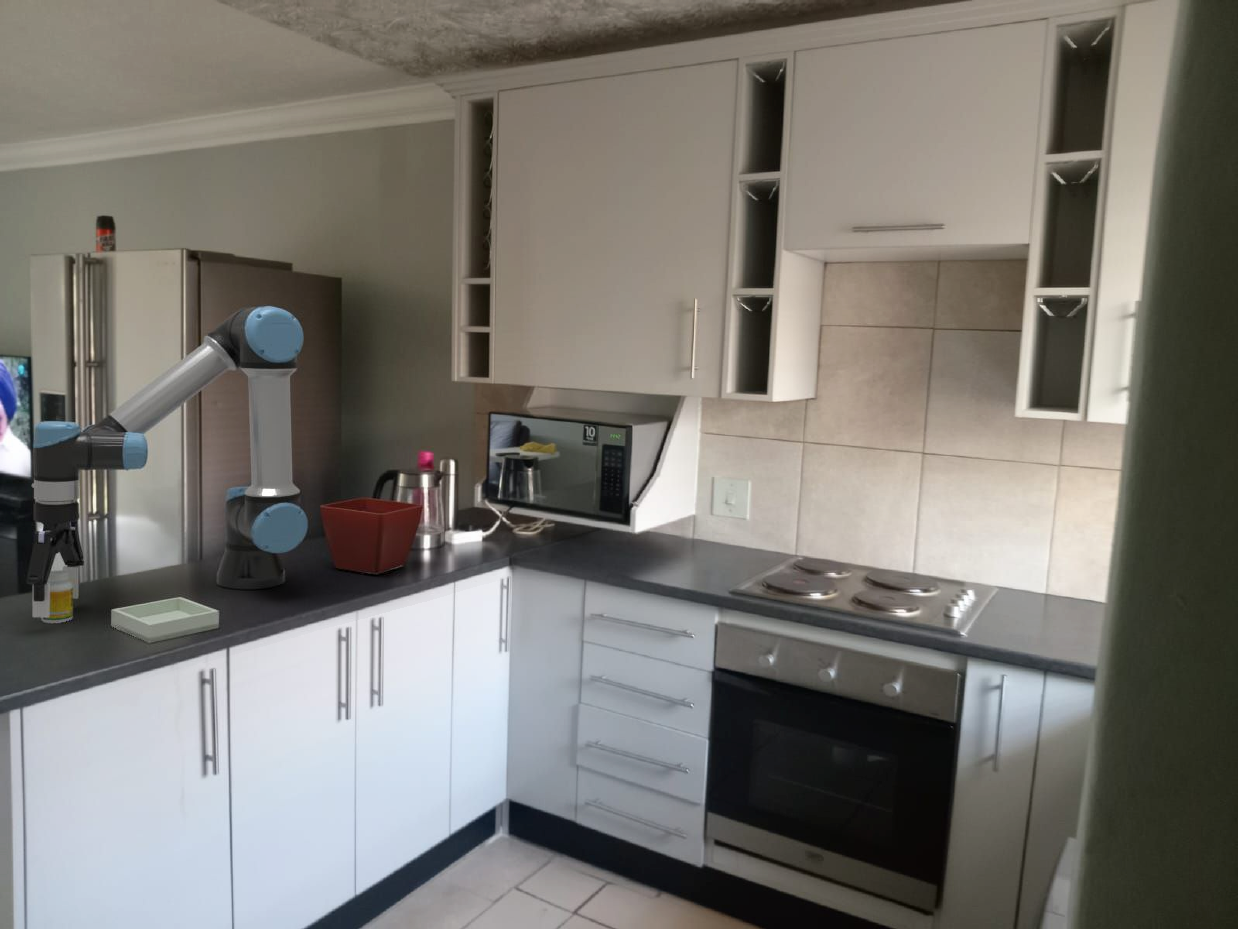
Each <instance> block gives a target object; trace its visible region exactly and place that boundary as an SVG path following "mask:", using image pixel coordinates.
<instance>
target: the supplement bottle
mask: <svg viewBox="0 0 1238 929" xmlns="http://www.w3.org/2000/svg"><path fill="white" fill-rule="evenodd" d="M68 579H69V572H68V571H63V570H51V572H50V575H49V578H48V581H47V583H50V617H48V618H47V617H40V620H41V622H43V623H46V624H54V623H55V624H63V623H67V622H70V621H71V620H72V619H73V618H74V600H73V585H72V583H71V582H69V581H67V580H68ZM69 620H70V621H69ZM66 621H67V622H66ZM62 622H63V623H62Z"/></svg>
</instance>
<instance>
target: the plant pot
mask: <svg viewBox="0 0 1238 929" xmlns="http://www.w3.org/2000/svg"><path fill="white" fill-rule="evenodd" d="M319 506H320V508H319V509H320V514H321V521H322V522H321V523H322V526H323V527H322V528H323V530H324V536H325V540H326V542H327V546H328V550H329V553H330V556H331V559H332V561H333V564H334V566H335V569H336V568H340V569H345V570H346V569H347V570H355V571H361V572H371V573H379V572H384V571H386V570H389V569H391V568H395V567H398V566H400V565H404V566H405V564H406V562H407V559H409V558H408V557H409V555H410V552H411V550H412V548H413V545H414V542H415V539H416V535H417V532H418V529H419V525H420V523H421V522H420V521H421V517H422V512H423V504H418V503H411V502H410V503H409V502H402V501H396V500H390V499H389V500H388V499H378V498H371V497H369V498H368V497H360V498H359V497H358V498H355V499H354V498H353V499H349V500H344V501H337V502H332V503H328V504H327V503H326V504H321V505H319ZM345 570H344V571H345Z"/></svg>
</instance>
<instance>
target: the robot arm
mask: <svg viewBox="0 0 1238 929" xmlns="http://www.w3.org/2000/svg"><path fill="white" fill-rule="evenodd" d="M304 337H305V336H304V331H303V328H302V325H301V324H300V322H299V320H298V319H297V318H296V317H295V315H294V314H292V313H291V312H289V311H287V310H285V309H283V308H280V307H276V306H271V305H268V306H246V307H244V308H240V309H239V310H237V311H236V312H234V313H233V314H231V315H230V316H228V318H226V319H225V320H224V321H222V322H221V323H220V324H219V325H218V326H216V327H215V328H214V329H212V330H211V331H210V332H209V333H207V334H206V335H205V336H203V343H202V344H201V345H199V346H198V347H197V348H196V349H194V350H192V351H191V352H190V353H188V355H186V356H185V357H183V358H182V359H180V361H178V362H177V363H175V364H174V365H173V366H171V367H170V368H169V369H167V370H166V371H165V372H163V373H162V374H161V375H160V376H158V377H157V378H156V379H154V380H153V381H152V382H150V383H148V384H147V385H146V386H145V387H144V388H142V389H141V390H139V391H138V392H136V393H135V394H134V395H133V396H131V397H129V399H127V400H126V401H125V402H123V403H122V404H121V405H119V406H118V407H117V408H115V409H114V410H113V411H111V412H110V413H109V414H108V415H106V416H104V418H102V419H100V420H99V421H97V423H94V424H90V425H87V426H85V427H84V428H83V429H82V430H81V429H80V425H79V424H78V423H77V422H74V421H59V420H57V421H56V420H54V421H53V420H49V421H41V422H38V423H37V424H36V425H35V427H34V435H33V436H34V437H33V444H32V447H33V483H32V484H31V487H32V488H33V499H34V500H35V502H34V503H33V520H34V521H35V522H36V523H40V524H42V530H35V531H34V533H33V535H34V536H33V546H32V551H31V555H30V561H29V564H28V571H27V574H26V575H27V576H26V579H25V583H26V584H27V585H31V586H32V594H31V595H32V604H31V605H32V611H31V612H32V618H41V617H47V618H48V617H50V583H47V581H48V578H49V575H50V572H51V571H52V567H53V564H54V561H55V559H56V555H57V554H59V555H60V557H61V559H62V561H63V563H64V566H62V571H68V572H69V579H68V580H67V581H69V582H71V583H72V585H73V599H74V600H75V599H79V569H80V568H79V567H82V566H84V564H85V560H84V553H83V549H82V544H81V540H80V534H79V531H78V519H79V518H80V517H79V516H80V515H79V514H80V503H79V502H78V501H77V500H78V499H80V471H116V470H118V471H119V470H120V471H121V470H123V471H129V470H141V469H143V468H144V467H145V466H146V465H147V462H148V456H149V448H148V441H147V437H146V436H145V434H146V433H147V432H149V431H150V430H151V429H152V428H154V427H155V426H157V425H158V424H159V423H160V422H161V421H163V420H164V419H165V418H167V417H168V416H170V415H171V414H172V413H174V412H175V411H176V410H177V409H178V408H180V407H181V406H182V405H183V404H184V405H185V403H186V402H188V401H189V400H191V399H192V398H193V397H194V396H196V395H197V394H198V393H200V392H201V391H202V390H204V389H205V388H206V387H207V386H209V385H210V384H211V383H213V381H215V380H217V379H218V378H219V377H220V376H222V375H223V374H224V373H226V372H227V371H236V370H237V369H239V368H240V370H241V371H242V372H243V373H244V374H245V375H246V376H247V378H248V381H247V382H248V411H249V412H248V413H249V439H250V440H249V441H250V442H249V443H250V474H251V475H250V476H251V478H250V479H251V485H250V486H237V487H236V486H235V487H230V488H228V489H227V491H226V495H225V500H224V504H225V535H224V536H225V540H224V541H225V542H224V544H225V546H224V553H223V556H222V558H221V561H220V563H219V568H218V570H217V572H216V584H217V586H220V587H223V588H227V589H233V590H234V589H235V590H261V589H268V588H273V587H277V586H279V585H282V584H284V583H285V581H286V571H285V570H286V569H285V568H284V564H283V561H282V558H281V555H280V554H282V553H283V554H284V553H286V552H287V553H288V552H290V551H291V550H293V549H294V550H295V549H296V547H298V546H299V544H301V543H302V542H303V540H304V539H305V537H306V536H307V531H308V528H309V523H308V517H307V515H306V513H305V511H304V510H303V509H302V508H301V494H300V492H301V490H300V489H299V488H298V487H297V486H296V484H294V483H293V453H292V450H293V449H292V413H291V412H292V411H291V410H292V409H291V408H292V407H291V376H292V375H293V374H294V373H295V372H296V371H297V370H298V365H297V364H298V363H297V362H298V361H297V360H298V359H297V356H298V354H299V353H300V352H301V351H302V348H303V345H304Z"/></svg>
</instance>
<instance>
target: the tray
mask: <svg viewBox="0 0 1238 929" xmlns="http://www.w3.org/2000/svg"><path fill="white" fill-rule="evenodd" d="M110 613H111V615H110V616H111V617H110V618H111V619H110V620H111V621H110V622H111V623H110V624H111V625H110V626H112V627H111V628H113V627H114V628H113V629H115V628H116V629H115V630H117V631H120V630H121V631H120V632H122V631H123V632H122V633H124V632H125V634H127V633H128V634H127V635H129V634H130V635H129V636H131V635H132V637H133V636H134V637H133V638H136V637H137V638H136V639H138V638H139V639H138V640H140V639H141V641H143V640H144V641H143V642H145V641H146V642H145V643H147V644H152V643H156V642H161V641H166V640H170V639H171V640H172V639H175V638H180V637H184V636H190V635H193V634H198V633H202V632H203V633H204V632H207V631H211V630H215V629H216V630H217V629H219V628H220V627H219V626H220V624H219V623H220V610H217V609H215V608H212V607H210V606H206V605H204V604H201V603H198V602H196V601H194V600H190V599H187V598H184V597H182V596H179V597H173V598H167V599H161V600H157V601H151V602H146V603H140V604H134V605H130V606H125V607H124V606H122V607H118V608H113V609H111V611H110Z"/></svg>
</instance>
